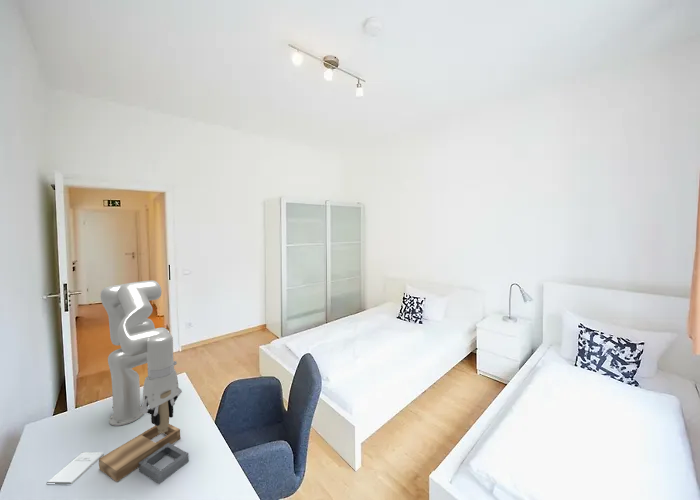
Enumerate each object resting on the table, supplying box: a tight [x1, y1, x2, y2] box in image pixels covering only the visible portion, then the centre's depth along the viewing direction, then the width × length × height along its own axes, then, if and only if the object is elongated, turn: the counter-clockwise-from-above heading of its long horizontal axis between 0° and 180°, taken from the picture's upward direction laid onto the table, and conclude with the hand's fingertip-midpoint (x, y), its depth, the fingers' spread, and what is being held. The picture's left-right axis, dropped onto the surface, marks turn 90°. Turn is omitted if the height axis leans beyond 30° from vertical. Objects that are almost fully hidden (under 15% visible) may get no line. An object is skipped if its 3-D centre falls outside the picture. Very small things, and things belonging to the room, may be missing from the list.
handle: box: [157, 390, 171, 435], centre depth 100 cm, size 5×6×15 cm
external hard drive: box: [46, 451, 105, 485], centre depth 100 cm, size 2×8×12 cm
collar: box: [138, 443, 190, 485], centre depth 102 cm, size 12×10×3 cm
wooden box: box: [98, 423, 181, 483], centre depth 107 cm, size 11×22×4 cm, turn 155°
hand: (162, 419), depth 101 cm, fingers closed on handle, 3 cm apart
